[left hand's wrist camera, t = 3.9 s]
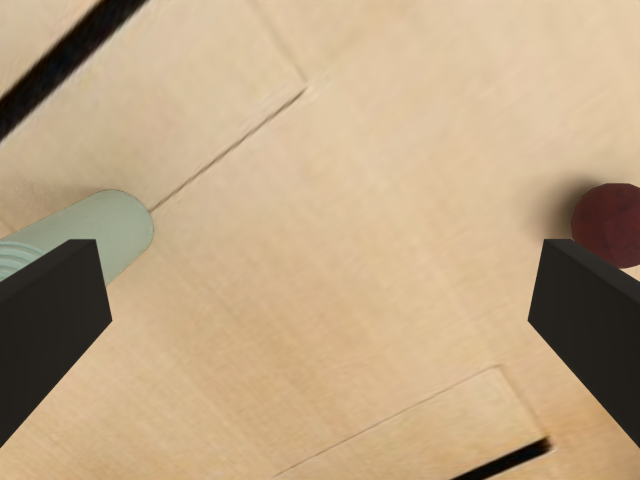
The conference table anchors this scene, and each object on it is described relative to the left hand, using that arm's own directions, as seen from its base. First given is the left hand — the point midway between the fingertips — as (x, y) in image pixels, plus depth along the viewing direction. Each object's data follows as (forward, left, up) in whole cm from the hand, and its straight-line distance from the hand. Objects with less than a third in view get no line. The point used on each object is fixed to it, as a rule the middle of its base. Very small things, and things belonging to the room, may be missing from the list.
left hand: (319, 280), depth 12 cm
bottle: (+8, -20, -28) cm, 35 cm away
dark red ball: (+6, +27, -28) cm, 39 cm away
